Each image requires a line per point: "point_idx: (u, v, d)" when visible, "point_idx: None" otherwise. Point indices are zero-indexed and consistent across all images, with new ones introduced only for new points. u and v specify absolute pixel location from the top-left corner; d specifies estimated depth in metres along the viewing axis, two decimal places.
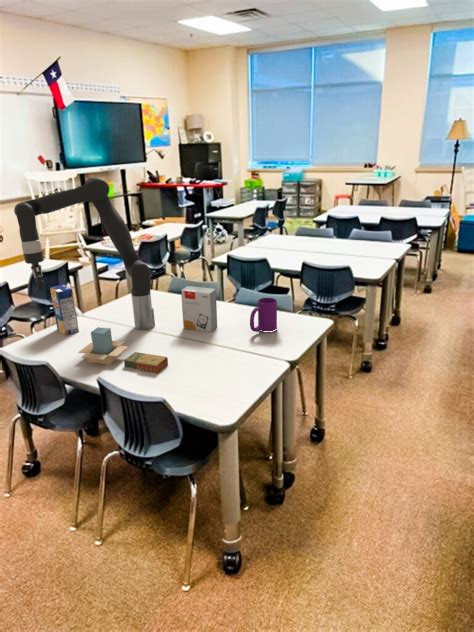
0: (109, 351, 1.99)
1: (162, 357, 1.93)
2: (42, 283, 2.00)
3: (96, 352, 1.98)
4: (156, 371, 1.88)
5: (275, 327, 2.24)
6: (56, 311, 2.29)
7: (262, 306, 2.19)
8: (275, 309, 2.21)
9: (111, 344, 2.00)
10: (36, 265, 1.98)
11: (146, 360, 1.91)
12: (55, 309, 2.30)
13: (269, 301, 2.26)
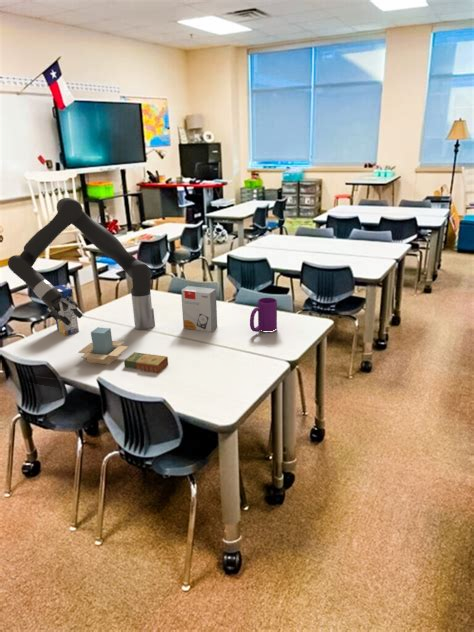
0: (109, 351, 1.99)
1: (162, 357, 1.93)
2: (65, 318, 1.94)
3: (96, 352, 1.98)
4: (157, 371, 1.88)
5: (275, 327, 2.24)
6: None
7: (262, 306, 2.19)
8: (275, 309, 2.21)
9: (111, 344, 2.00)
10: (51, 305, 1.95)
11: (147, 360, 1.91)
12: None
13: (269, 301, 2.26)
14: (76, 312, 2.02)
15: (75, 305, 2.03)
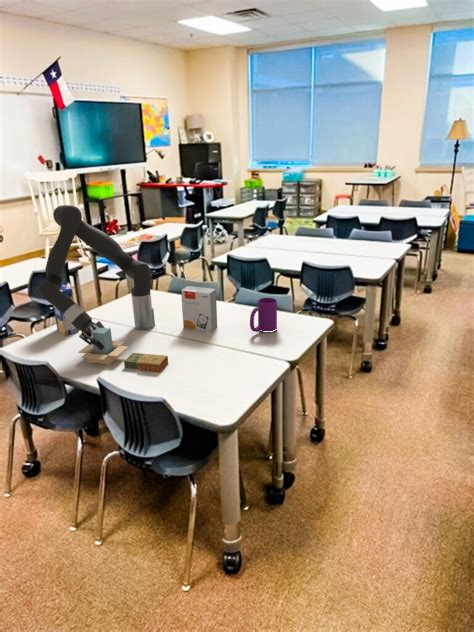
0: (109, 351, 1.99)
1: (162, 356, 1.94)
2: (98, 342, 1.95)
3: (96, 352, 1.98)
4: (159, 370, 1.89)
5: (275, 327, 2.24)
6: (56, 311, 2.29)
7: (262, 306, 2.19)
8: (275, 309, 2.21)
9: (111, 344, 2.00)
10: (82, 330, 1.95)
11: (147, 360, 1.91)
12: (55, 309, 2.30)
13: (269, 301, 2.26)
14: None
15: None
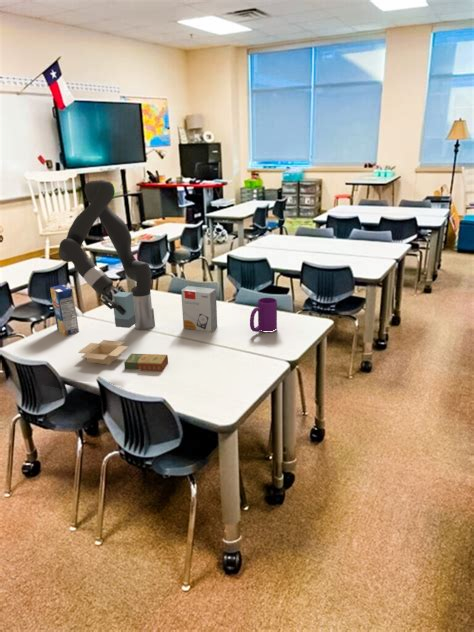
0: (130, 317, 1.88)
1: (162, 355, 1.95)
2: (120, 307, 1.84)
3: (117, 317, 1.87)
4: (160, 369, 1.89)
5: (275, 327, 2.24)
6: (56, 311, 2.29)
7: (262, 306, 2.19)
8: (275, 309, 2.21)
9: (133, 309, 1.89)
10: (103, 293, 1.84)
11: (148, 360, 1.91)
12: (55, 309, 2.30)
13: (269, 301, 2.26)
14: None
15: None
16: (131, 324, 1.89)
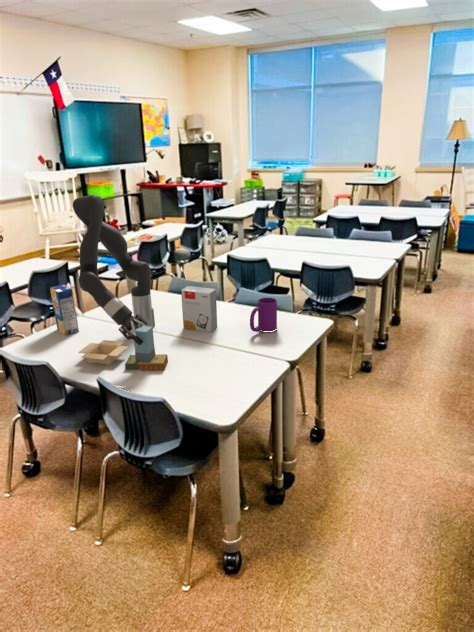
0: (150, 351, 1.91)
1: (162, 355, 1.96)
2: (137, 337, 1.85)
3: (138, 351, 1.90)
4: (162, 369, 1.90)
5: (275, 327, 2.24)
6: (56, 311, 2.29)
7: (262, 306, 2.19)
8: (275, 309, 2.21)
9: (153, 343, 1.92)
10: (123, 324, 1.86)
11: None
12: (55, 309, 2.30)
13: (269, 301, 2.26)
14: None
15: (144, 323, 1.94)
16: (151, 358, 1.92)
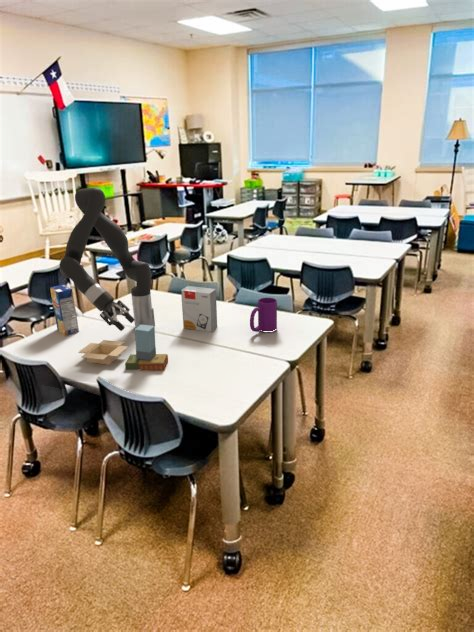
0: (151, 350, 1.91)
1: (163, 355, 1.96)
2: (119, 323, 1.85)
3: (138, 350, 1.90)
4: (162, 368, 1.90)
5: (275, 327, 2.24)
6: (56, 311, 2.29)
7: (262, 306, 2.19)
8: (275, 309, 2.21)
9: (154, 342, 1.93)
10: (104, 309, 1.86)
11: None
12: (55, 309, 2.30)
13: (269, 301, 2.26)
14: (128, 316, 1.93)
15: (126, 309, 1.94)
16: (152, 357, 1.92)
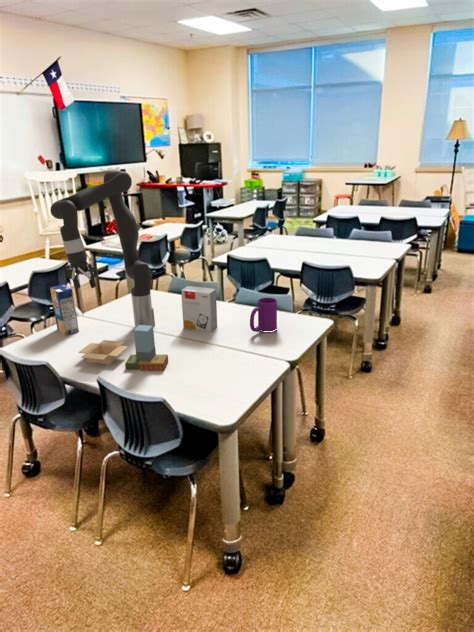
0: (151, 350, 1.92)
1: (163, 355, 1.95)
2: None
3: (138, 351, 1.91)
4: (162, 369, 1.90)
5: (275, 327, 2.24)
6: (56, 311, 2.29)
7: (262, 306, 2.19)
8: (275, 309, 2.21)
9: (153, 342, 1.93)
10: (85, 263, 1.93)
11: None
12: (55, 309, 2.30)
13: (269, 301, 2.26)
14: (77, 281, 1.99)
15: None
16: (152, 356, 1.92)
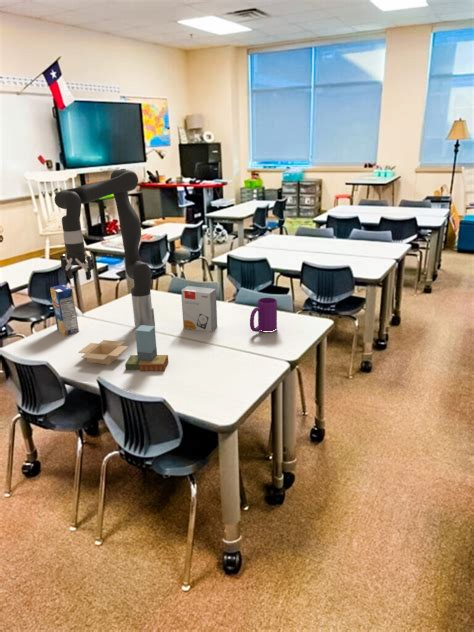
0: (153, 350, 1.91)
1: (163, 356, 1.95)
2: None
3: (140, 351, 1.90)
4: (162, 369, 1.90)
5: (275, 327, 2.24)
6: (56, 311, 2.29)
7: (262, 306, 2.19)
8: (275, 309, 2.21)
9: (155, 342, 1.93)
10: (83, 254, 1.95)
11: None
12: (55, 309, 2.30)
13: (269, 301, 2.26)
14: (71, 272, 1.99)
15: (66, 265, 2.00)
16: (153, 357, 1.92)
